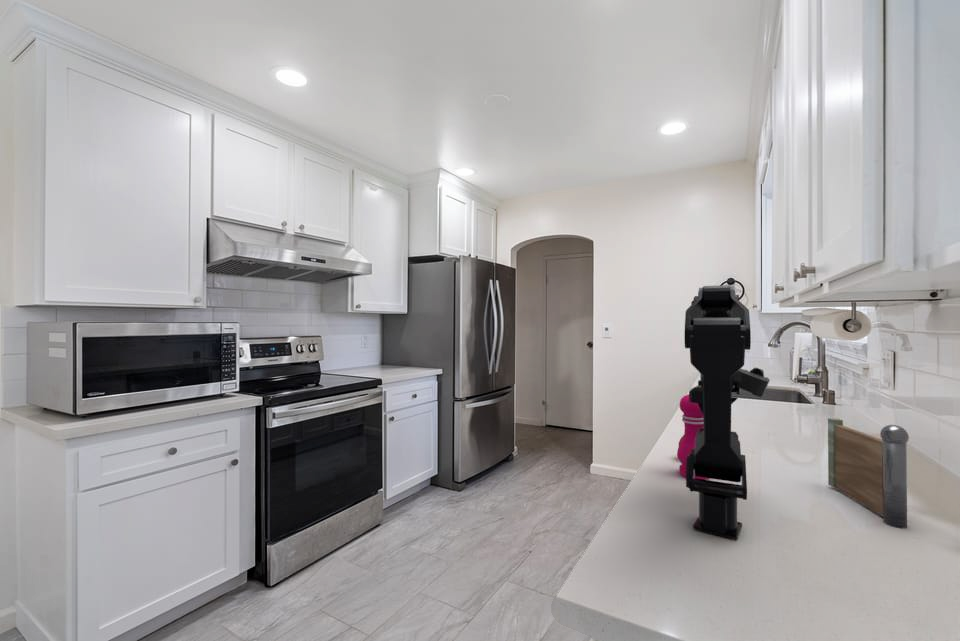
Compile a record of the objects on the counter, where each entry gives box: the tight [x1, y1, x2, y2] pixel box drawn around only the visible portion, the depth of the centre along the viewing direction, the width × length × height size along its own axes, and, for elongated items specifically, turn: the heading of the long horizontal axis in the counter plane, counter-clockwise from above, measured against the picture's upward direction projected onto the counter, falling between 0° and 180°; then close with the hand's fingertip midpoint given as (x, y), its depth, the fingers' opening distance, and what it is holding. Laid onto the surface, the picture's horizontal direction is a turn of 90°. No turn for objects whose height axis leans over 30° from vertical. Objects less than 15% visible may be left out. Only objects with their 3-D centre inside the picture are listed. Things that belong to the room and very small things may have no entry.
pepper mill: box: [676, 387, 710, 480], centre depth 102 cm, size 7×7×20 cm
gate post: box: [879, 424, 910, 529], centre depth 77 cm, size 4×4×17 cm
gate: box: [827, 417, 883, 517], centre depth 86 cm, size 2×16×14 cm, turn 170°
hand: (717, 435), depth 86 cm, fingers closed
